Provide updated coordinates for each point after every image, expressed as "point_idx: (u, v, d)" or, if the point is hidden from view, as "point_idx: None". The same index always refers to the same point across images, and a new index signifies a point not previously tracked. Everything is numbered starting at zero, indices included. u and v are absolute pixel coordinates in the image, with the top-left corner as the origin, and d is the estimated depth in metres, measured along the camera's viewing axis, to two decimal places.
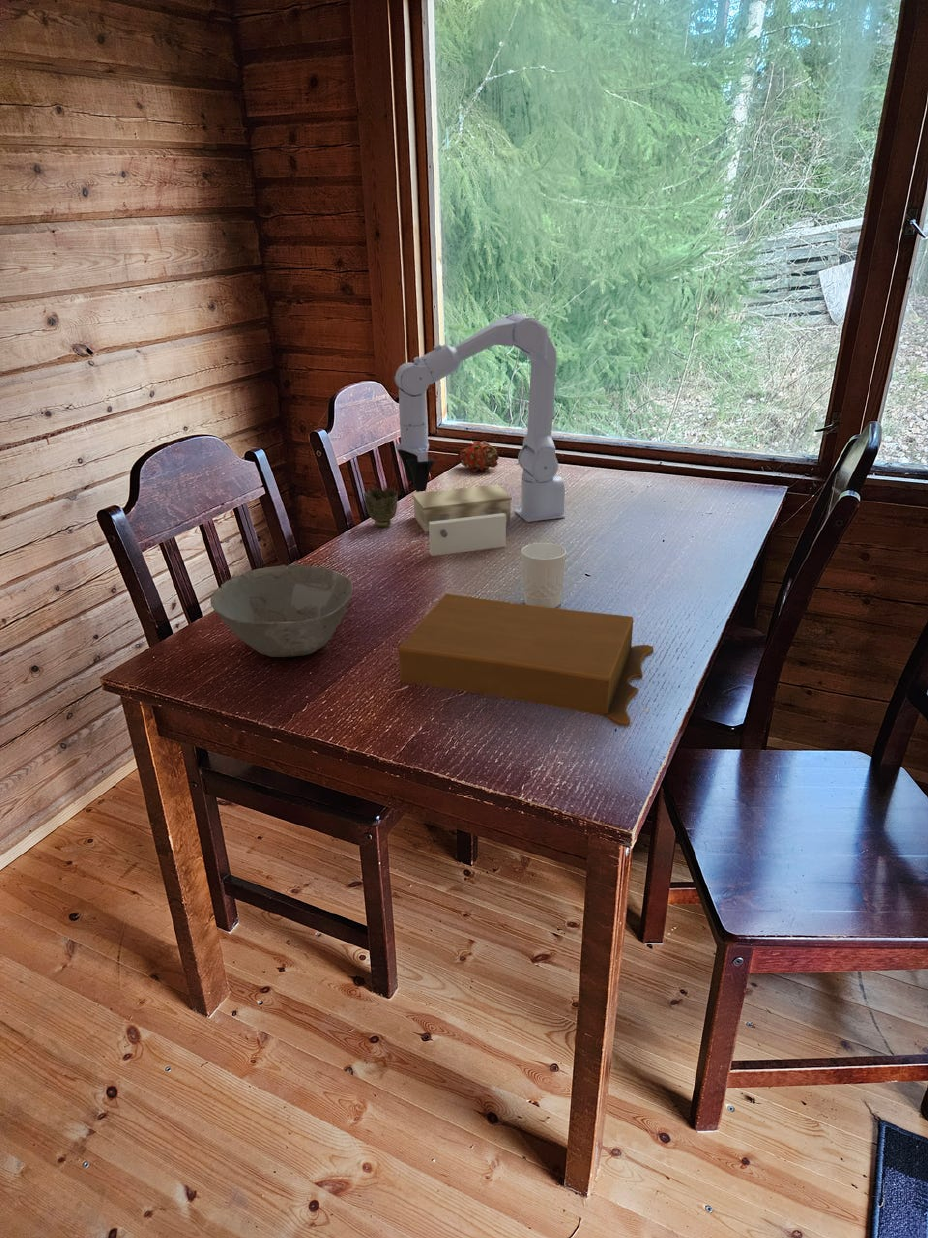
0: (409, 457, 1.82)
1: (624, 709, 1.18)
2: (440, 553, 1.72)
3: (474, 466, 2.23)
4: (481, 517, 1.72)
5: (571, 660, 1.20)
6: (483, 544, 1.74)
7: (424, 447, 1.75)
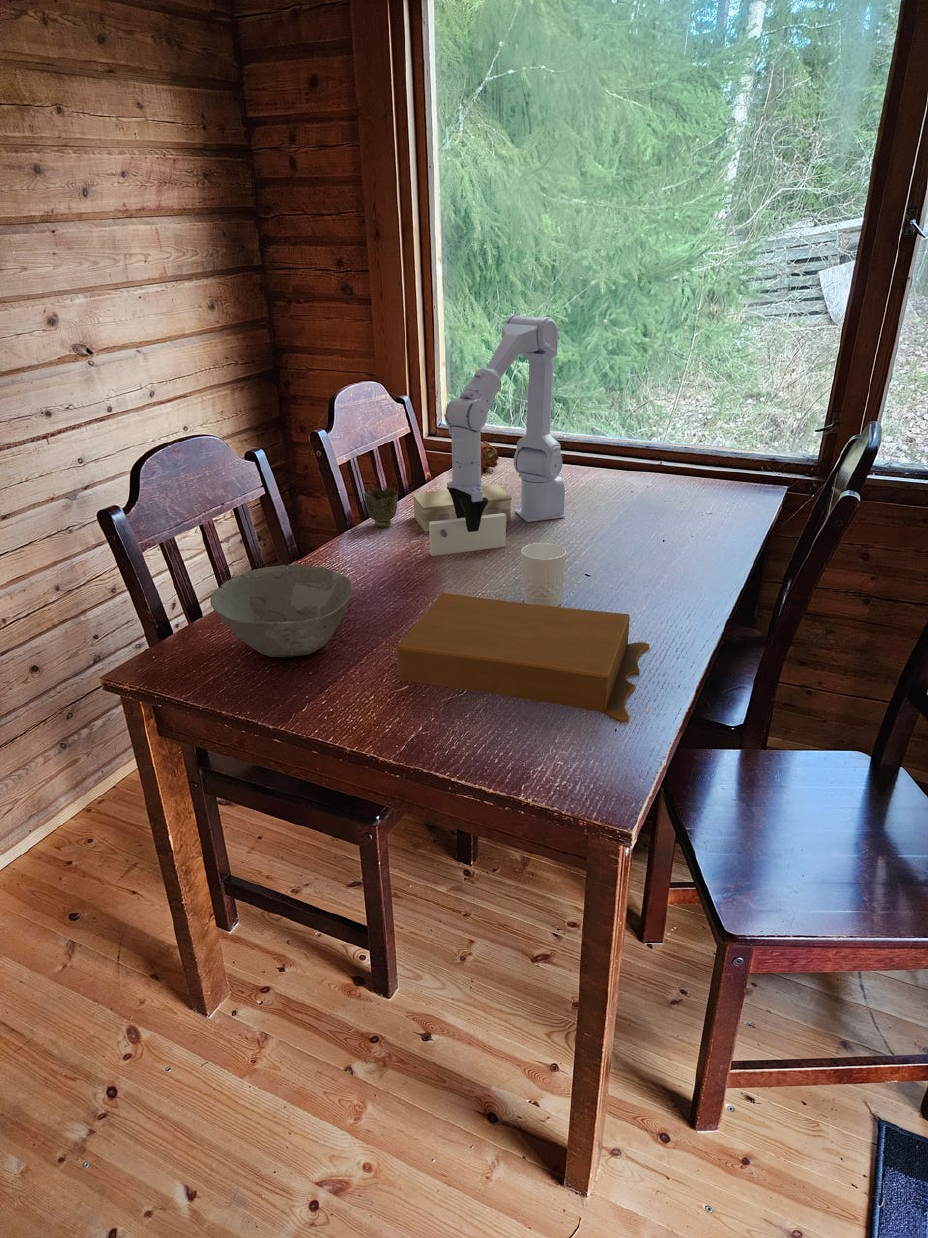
0: (459, 494, 1.73)
1: (622, 706, 1.19)
2: (440, 553, 1.72)
3: None
4: (481, 517, 1.72)
5: (570, 657, 1.20)
6: (483, 544, 1.74)
7: (477, 485, 1.66)
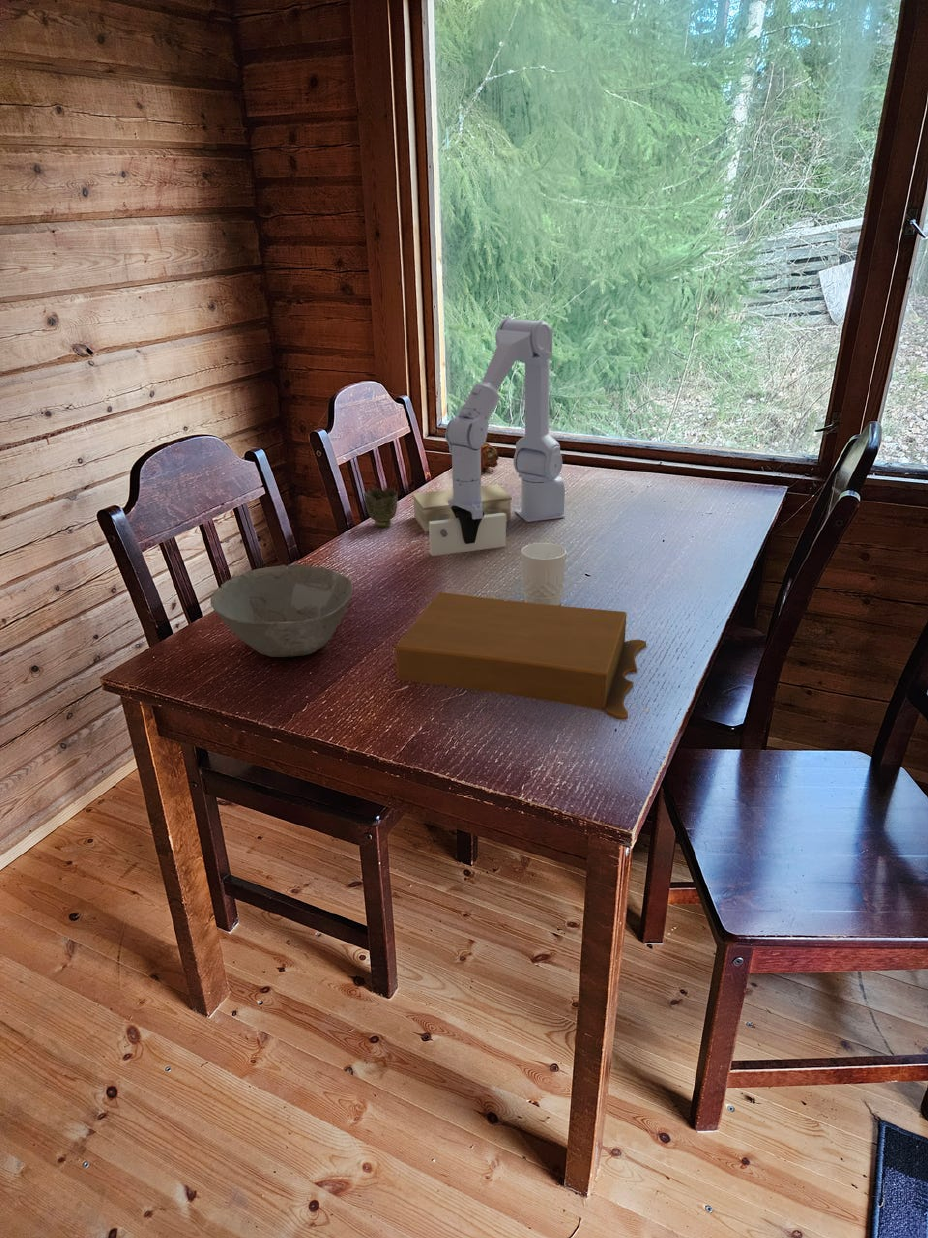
0: None
1: (621, 703, 1.19)
2: (440, 553, 1.72)
3: None
4: None
5: (568, 655, 1.21)
6: (483, 544, 1.74)
7: (478, 503, 1.67)
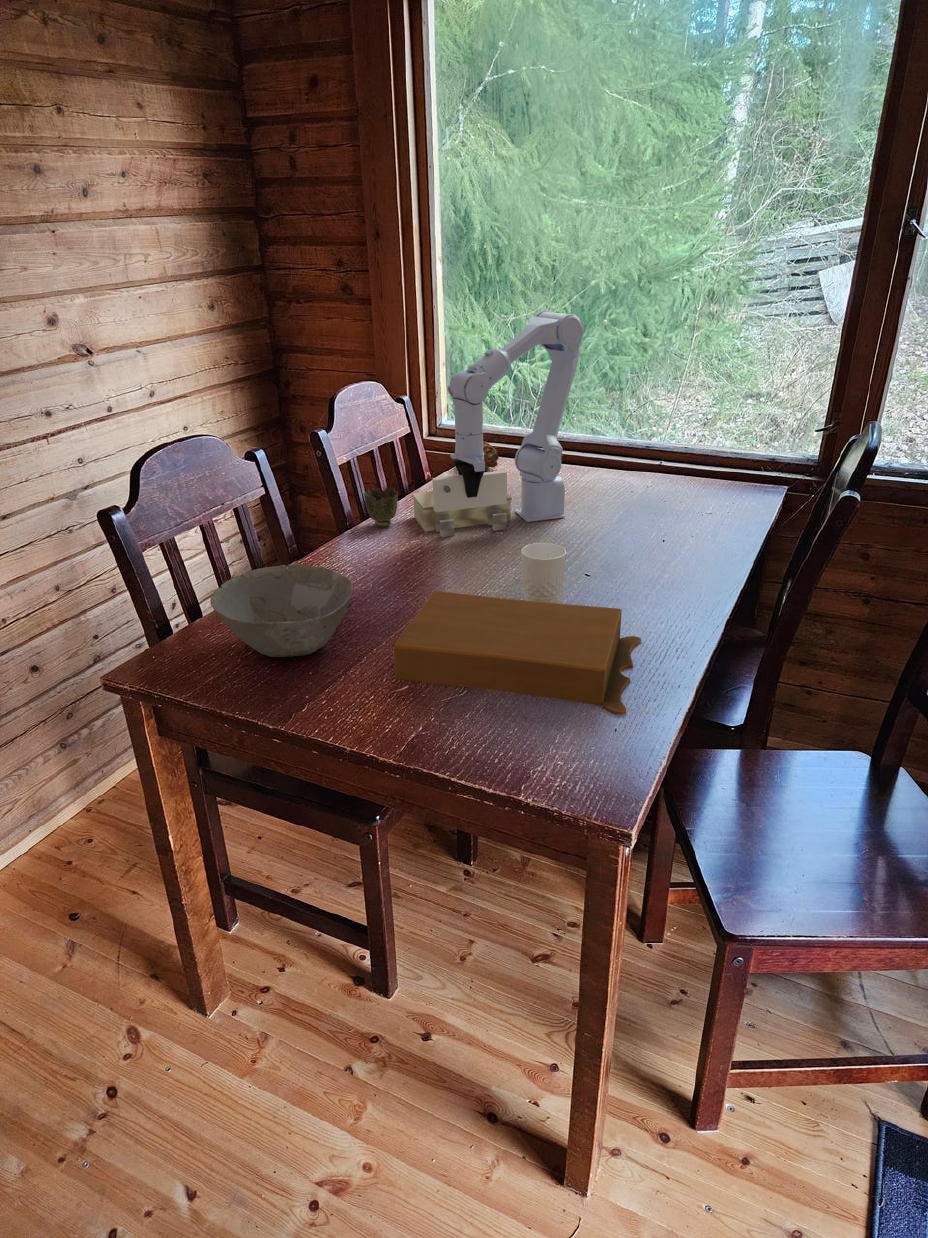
0: None
1: (619, 698, 1.20)
2: (443, 509, 1.77)
3: None
4: (483, 474, 1.77)
5: (566, 652, 1.22)
6: (485, 500, 1.79)
7: (480, 456, 1.72)
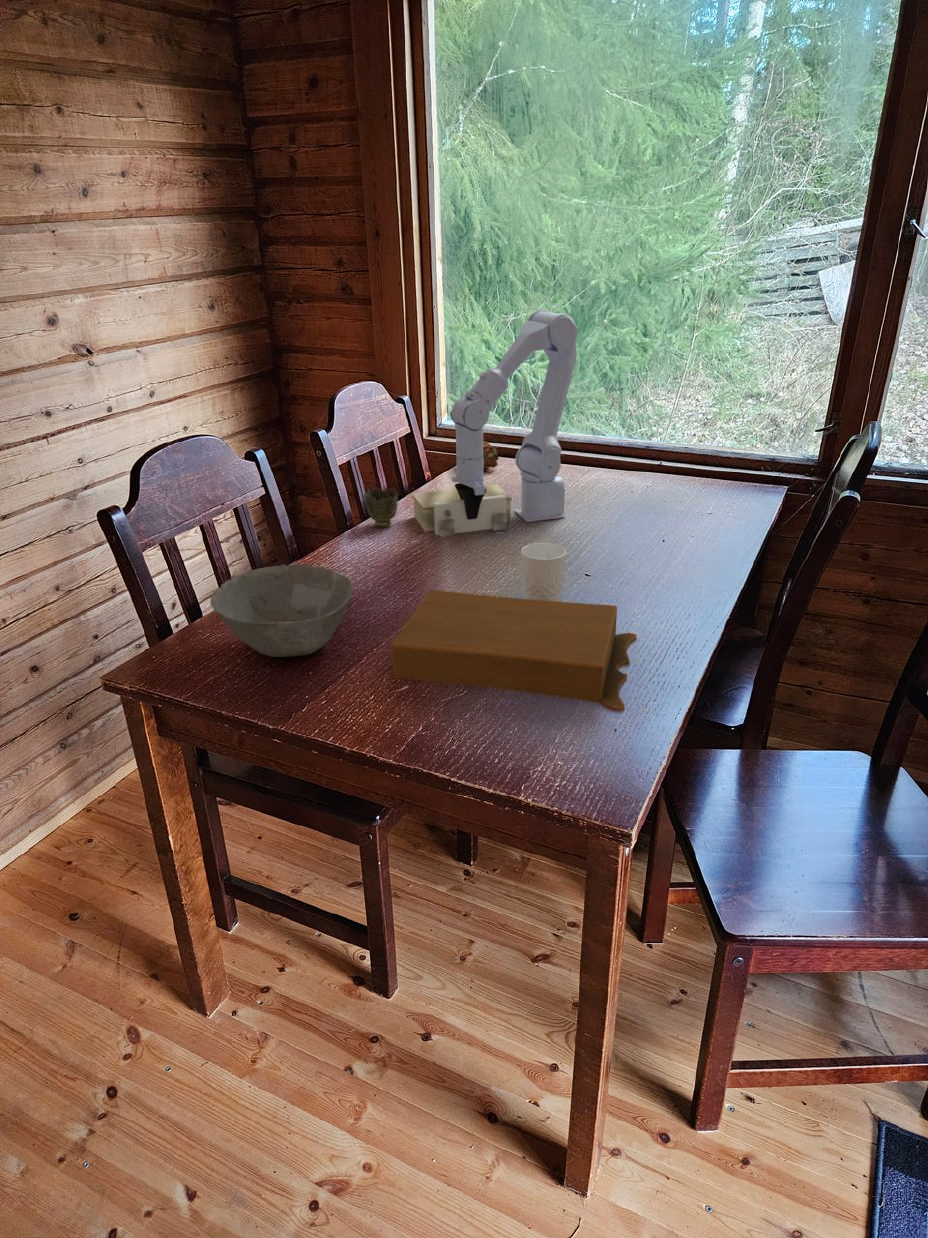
0: None
1: (617, 695, 1.21)
2: None
3: None
4: (483, 498, 1.82)
5: (564, 649, 1.23)
6: (485, 524, 1.84)
7: (480, 480, 1.77)
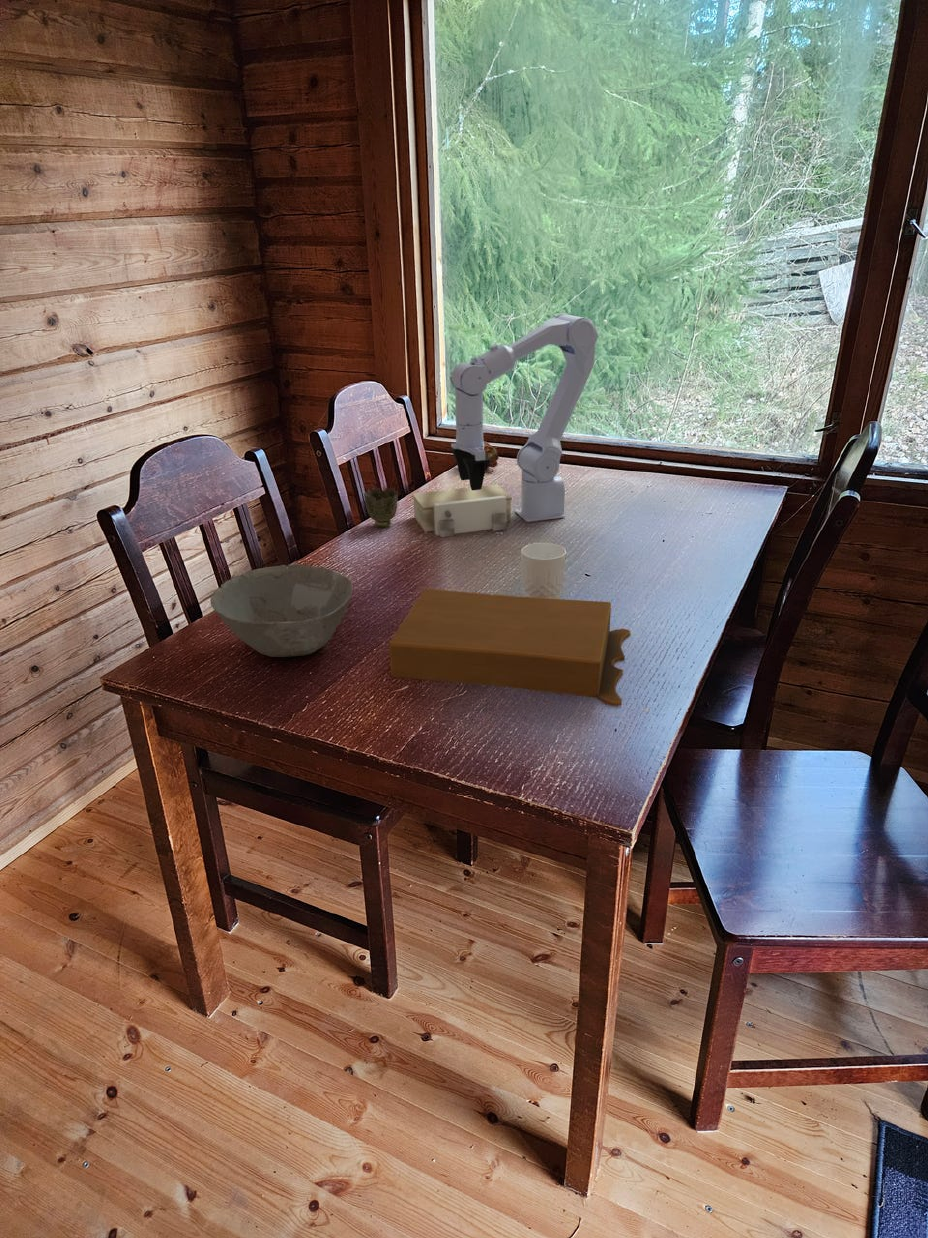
0: (463, 456, 1.83)
1: (614, 690, 1.22)
2: None
3: None
4: (483, 499, 1.82)
5: (560, 645, 1.24)
6: (485, 525, 1.84)
7: (480, 446, 1.77)
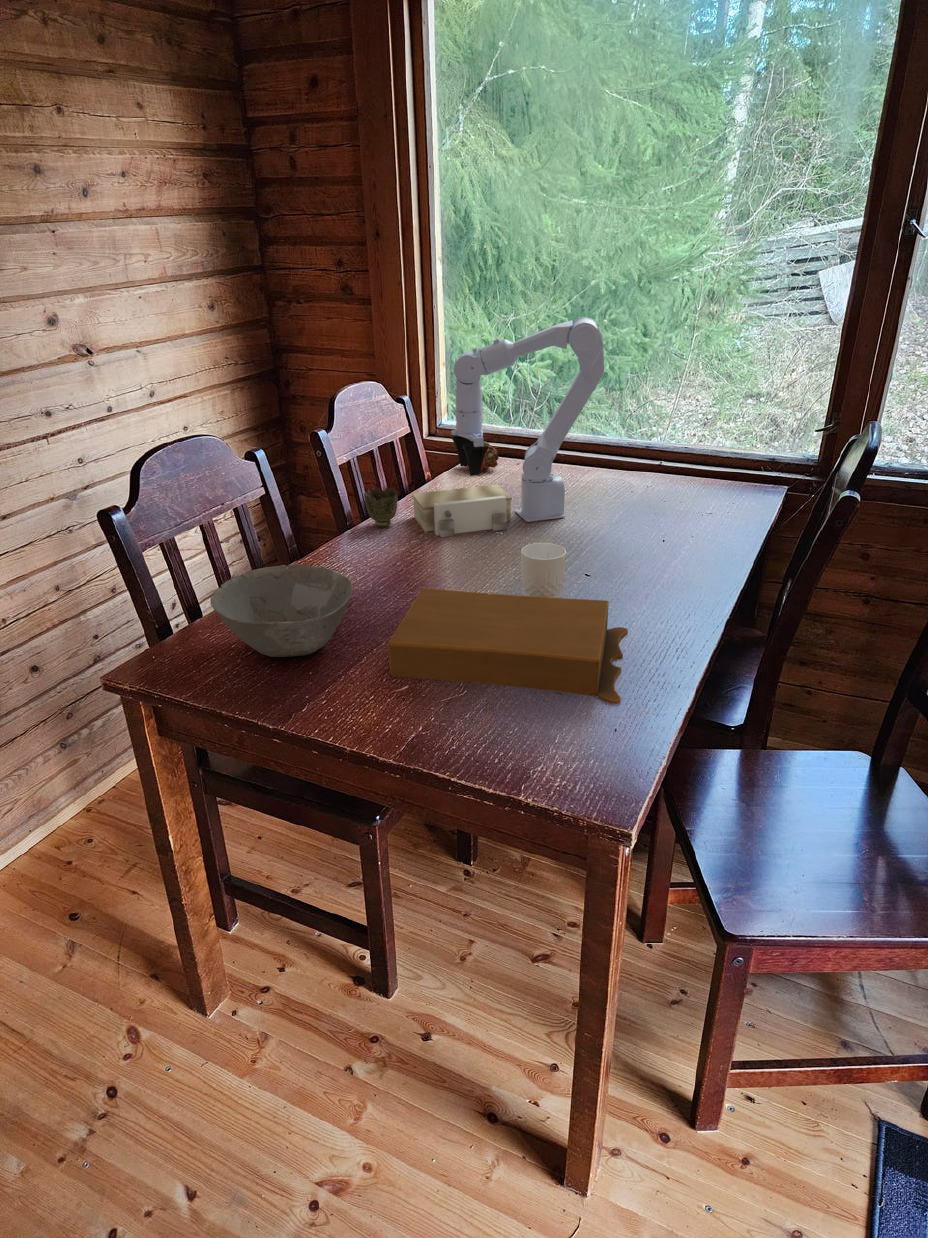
0: (462, 443, 1.90)
1: (612, 688, 1.23)
2: None
3: None
4: (483, 499, 1.82)
5: (559, 644, 1.24)
6: (485, 525, 1.84)
7: (479, 433, 1.83)
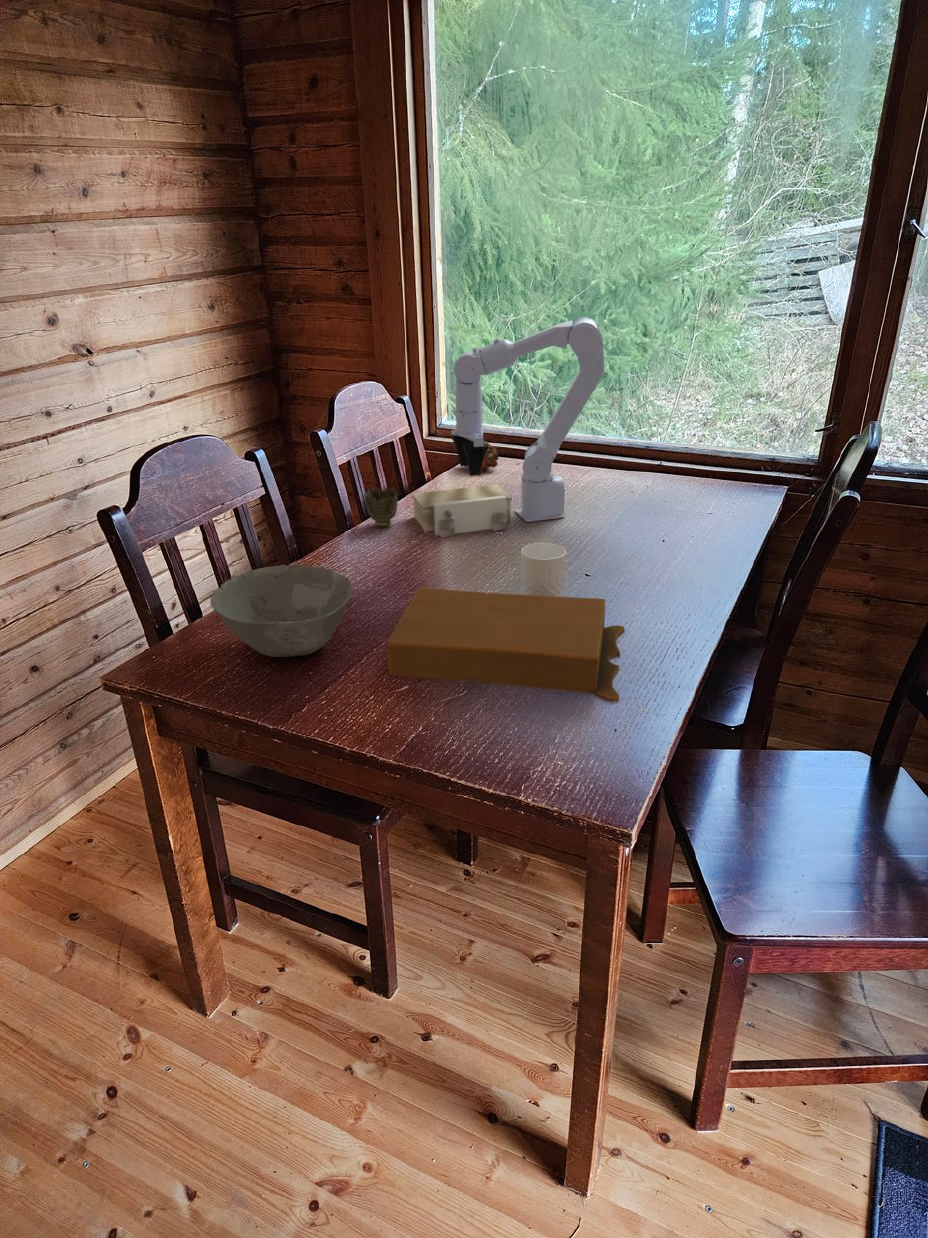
0: (462, 443, 1.90)
1: (611, 686, 1.24)
2: None
3: None
4: (483, 499, 1.82)
5: (558, 642, 1.25)
6: (485, 525, 1.84)
7: (479, 433, 1.83)
